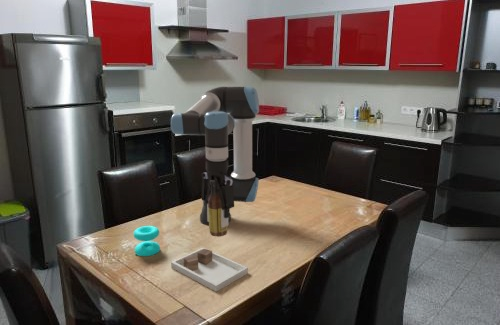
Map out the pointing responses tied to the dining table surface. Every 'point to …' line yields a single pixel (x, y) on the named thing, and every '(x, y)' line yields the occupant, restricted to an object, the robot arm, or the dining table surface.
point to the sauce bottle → (215, 211)
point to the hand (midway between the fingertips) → (217, 223)
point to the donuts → (146, 240)
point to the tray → (212, 271)
